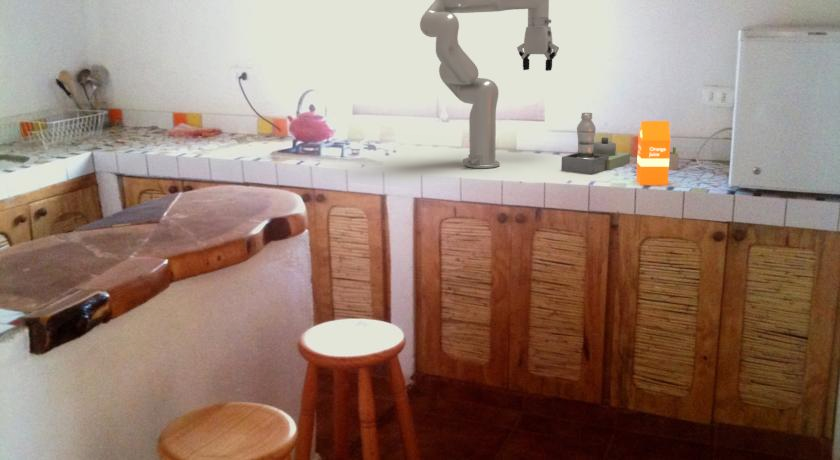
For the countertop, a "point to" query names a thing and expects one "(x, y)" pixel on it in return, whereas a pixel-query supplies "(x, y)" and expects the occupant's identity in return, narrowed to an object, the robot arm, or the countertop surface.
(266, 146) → the countertop surface
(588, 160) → the dark grey tray
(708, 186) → the countertop surface
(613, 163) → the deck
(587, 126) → the plastic bottle
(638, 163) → the orange juice
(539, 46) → the robot arm
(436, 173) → the countertop surface
